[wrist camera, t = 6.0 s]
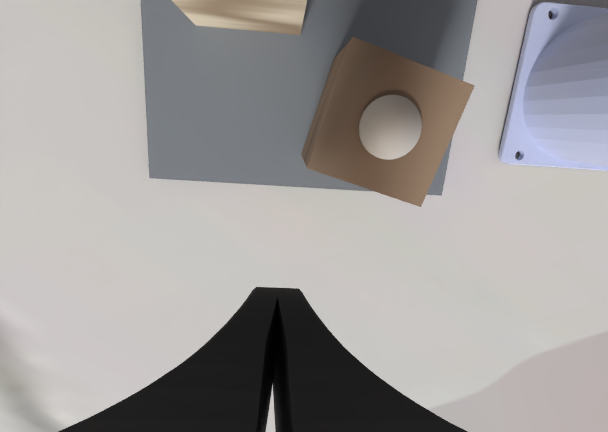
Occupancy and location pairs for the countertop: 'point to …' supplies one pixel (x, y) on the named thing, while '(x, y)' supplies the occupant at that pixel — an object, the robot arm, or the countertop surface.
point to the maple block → (247, 14)
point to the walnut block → (384, 121)
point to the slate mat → (274, 84)
